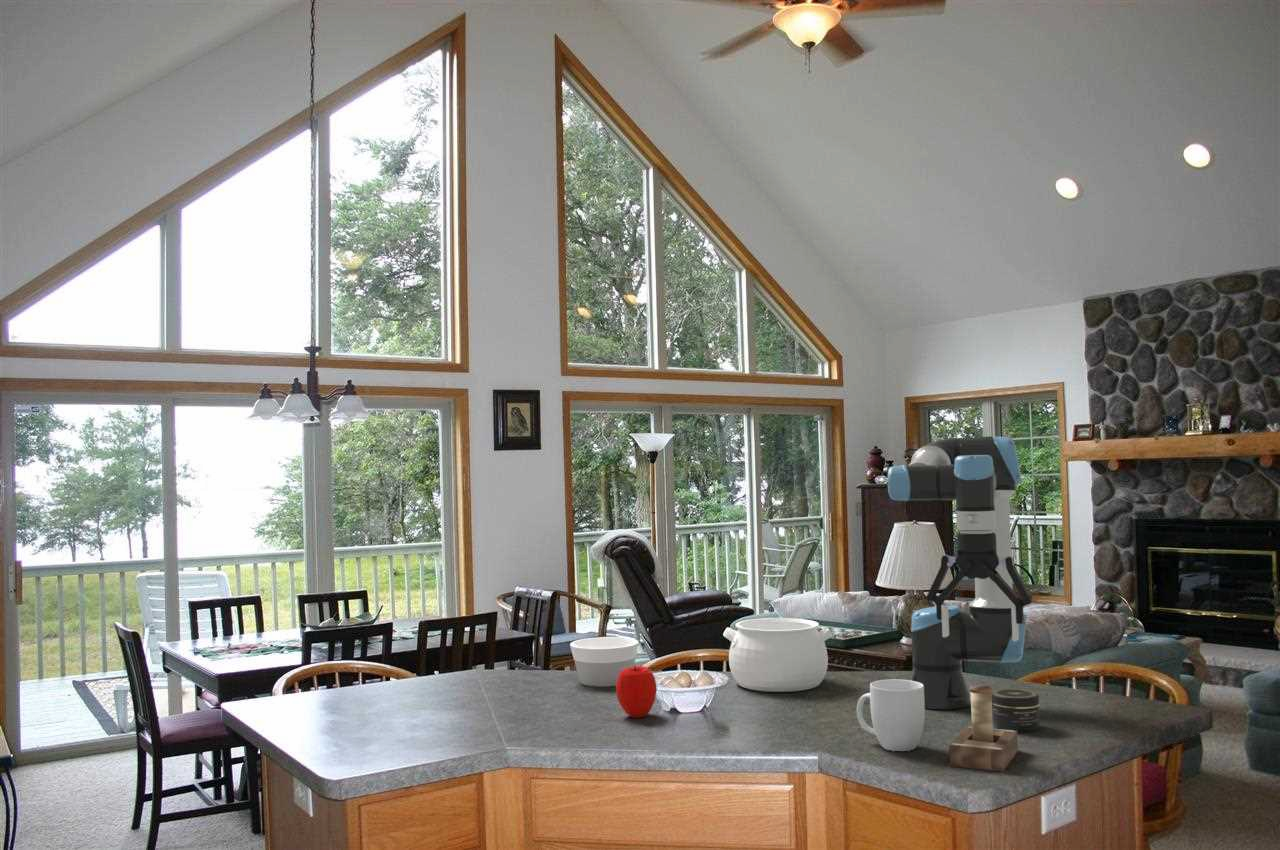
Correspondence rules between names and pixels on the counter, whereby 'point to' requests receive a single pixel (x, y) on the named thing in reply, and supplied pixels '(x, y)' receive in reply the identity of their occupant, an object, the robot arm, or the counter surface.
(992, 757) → the socket board
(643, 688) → the apple
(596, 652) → the bowl
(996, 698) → the jar
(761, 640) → the pot
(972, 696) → the dowel
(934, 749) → the counter surface
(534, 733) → the counter surface
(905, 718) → the mug
